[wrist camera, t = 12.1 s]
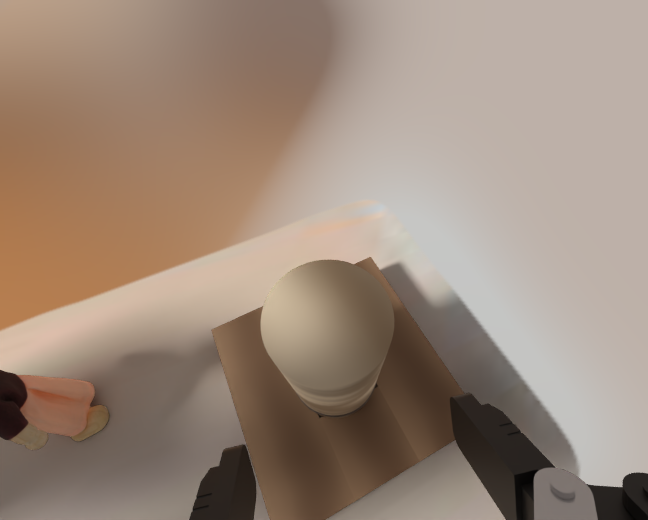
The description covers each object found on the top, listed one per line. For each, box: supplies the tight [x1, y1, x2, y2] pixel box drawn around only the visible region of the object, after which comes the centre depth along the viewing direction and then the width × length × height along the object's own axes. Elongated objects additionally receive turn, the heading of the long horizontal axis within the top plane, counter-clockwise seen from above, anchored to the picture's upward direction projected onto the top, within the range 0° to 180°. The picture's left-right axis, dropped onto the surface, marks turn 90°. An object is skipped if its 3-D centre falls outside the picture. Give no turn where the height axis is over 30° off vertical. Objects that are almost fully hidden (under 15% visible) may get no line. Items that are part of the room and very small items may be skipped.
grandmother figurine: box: [0, 370, 109, 450], centre depth 20 cm, size 8×4×13 cm, turn 63°
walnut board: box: [212, 257, 464, 520], centre depth 24 cm, size 14×14×3 cm
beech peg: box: [261, 260, 394, 418], centre depth 19 cm, size 6×6×13 cm
